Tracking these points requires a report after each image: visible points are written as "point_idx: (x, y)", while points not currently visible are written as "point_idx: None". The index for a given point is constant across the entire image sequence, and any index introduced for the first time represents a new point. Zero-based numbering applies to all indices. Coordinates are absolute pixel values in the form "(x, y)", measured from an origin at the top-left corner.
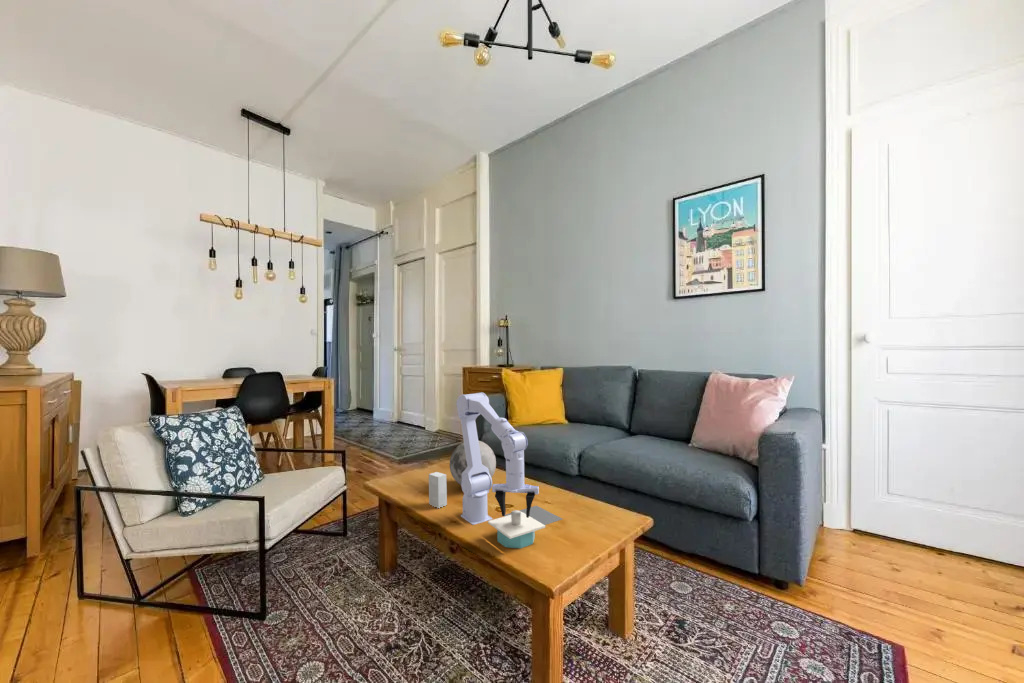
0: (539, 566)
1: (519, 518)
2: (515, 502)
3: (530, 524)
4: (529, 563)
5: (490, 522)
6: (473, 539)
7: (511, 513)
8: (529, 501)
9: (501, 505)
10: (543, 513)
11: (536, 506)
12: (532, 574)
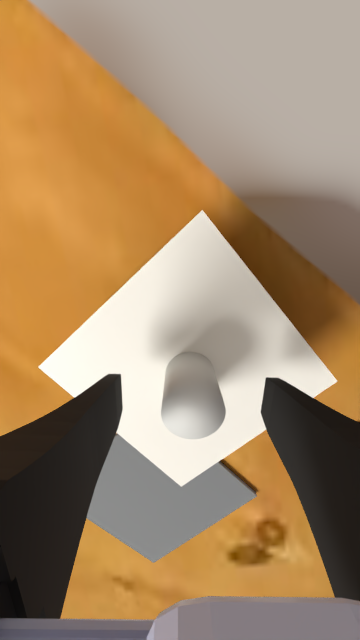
0: (57, 133)
1: (169, 378)
2: (224, 574)
3: (115, 370)
4: (104, 155)
5: (324, 369)
6: (352, 326)
7: (222, 399)
8: (6, 446)
9: (329, 417)
10: (121, 519)
11: (152, 557)
12: (71, 49)
